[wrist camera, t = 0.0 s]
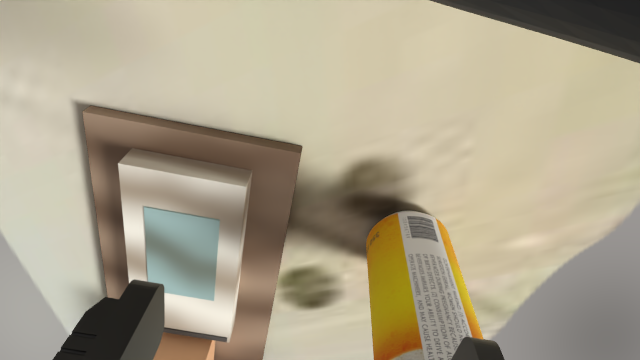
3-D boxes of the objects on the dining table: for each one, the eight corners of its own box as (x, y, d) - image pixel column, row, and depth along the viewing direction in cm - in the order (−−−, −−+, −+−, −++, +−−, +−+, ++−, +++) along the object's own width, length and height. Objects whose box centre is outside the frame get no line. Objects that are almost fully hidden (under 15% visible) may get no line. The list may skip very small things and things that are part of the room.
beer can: (363, 264, 33) (375, 479, 20) (368, 202, 30) (387, 413, 17) (439, 267, 33) (499, 487, 20) (453, 206, 29) (536, 422, 17)
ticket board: (90, 105, 26) (62, 125, 24) (302, 146, 27) (298, 170, 25) (123, 371, 42) (108, 400, 40) (256, 391, 43) (250, 422, 41)
